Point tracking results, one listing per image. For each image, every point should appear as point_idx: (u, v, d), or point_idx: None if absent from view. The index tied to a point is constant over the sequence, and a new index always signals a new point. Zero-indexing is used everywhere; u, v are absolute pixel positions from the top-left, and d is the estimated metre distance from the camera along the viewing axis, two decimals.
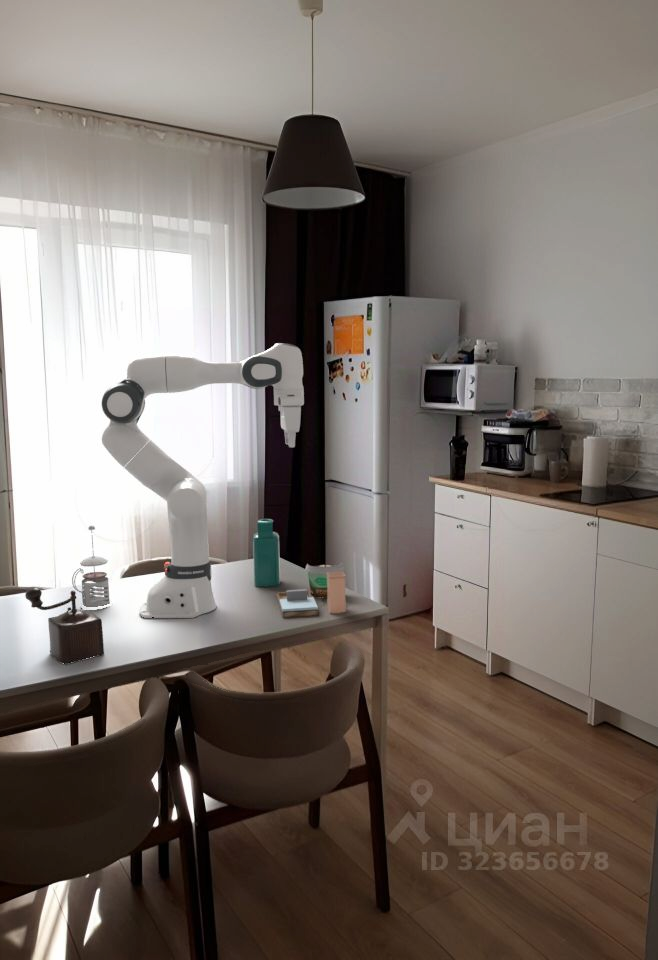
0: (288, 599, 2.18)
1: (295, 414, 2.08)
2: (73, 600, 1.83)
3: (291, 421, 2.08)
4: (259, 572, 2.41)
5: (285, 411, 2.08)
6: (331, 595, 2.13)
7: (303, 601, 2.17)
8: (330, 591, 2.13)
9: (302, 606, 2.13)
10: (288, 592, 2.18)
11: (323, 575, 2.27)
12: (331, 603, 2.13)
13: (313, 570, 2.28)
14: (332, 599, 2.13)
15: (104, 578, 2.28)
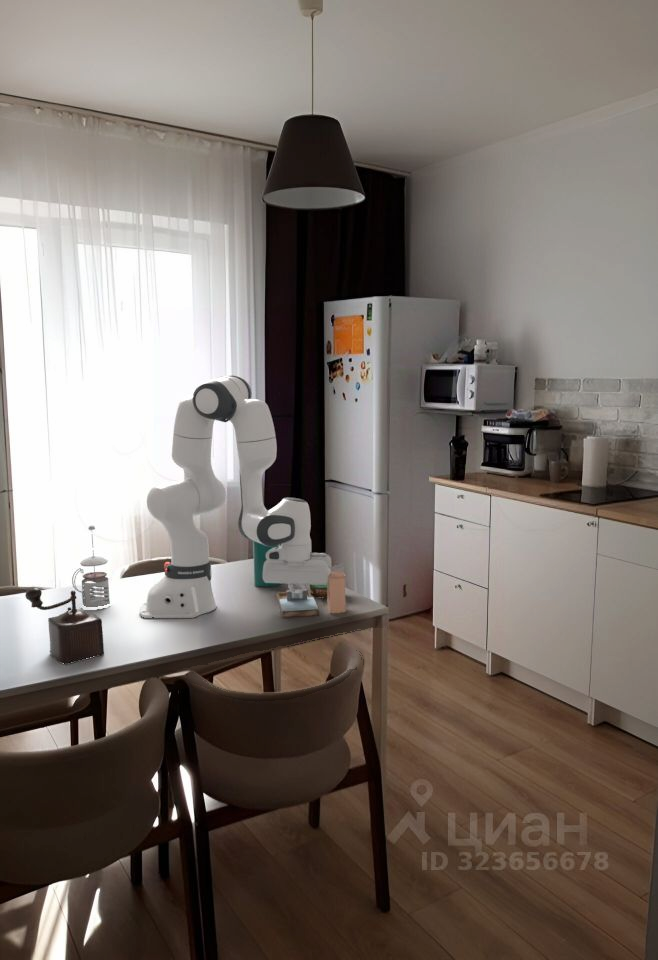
0: (288, 599, 2.18)
1: None
2: (73, 600, 1.83)
3: None
4: (259, 572, 2.41)
5: None
6: (331, 595, 2.13)
7: (303, 601, 2.17)
8: (330, 591, 2.13)
9: (302, 606, 2.13)
10: (288, 592, 2.18)
11: None
12: (331, 603, 2.13)
13: None
14: (332, 599, 2.13)
15: (104, 578, 2.28)
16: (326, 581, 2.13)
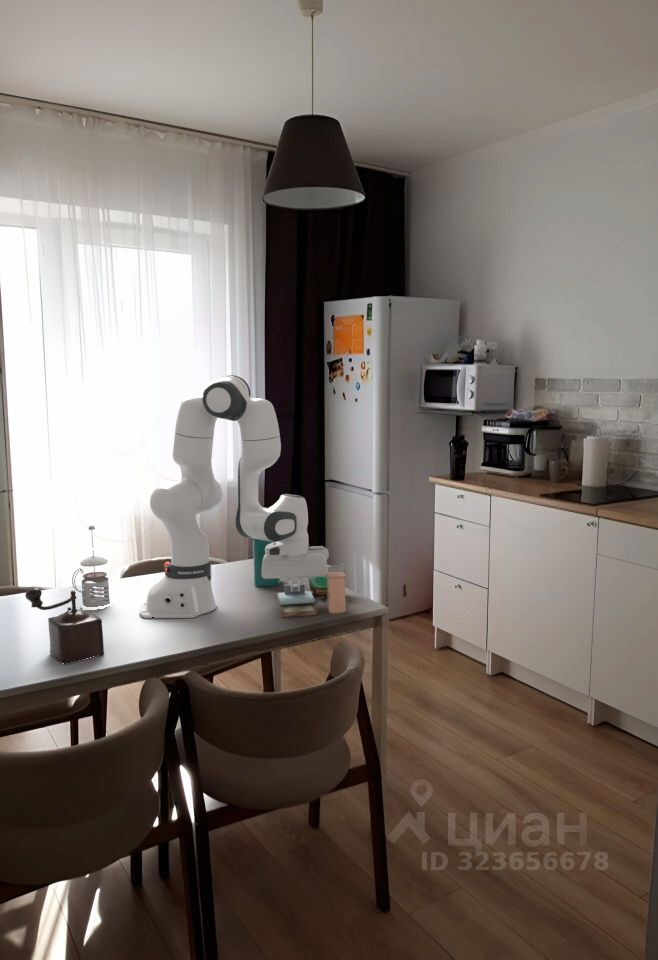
0: (286, 593, 2.25)
1: None
2: (73, 600, 1.83)
3: None
4: (259, 572, 2.41)
5: None
6: (331, 595, 2.13)
7: (300, 595, 2.24)
8: (330, 591, 2.13)
9: (299, 599, 2.19)
10: (286, 586, 2.25)
11: None
12: (331, 603, 2.13)
13: None
14: (332, 599, 2.13)
15: (104, 578, 2.28)
16: (325, 573, 2.22)
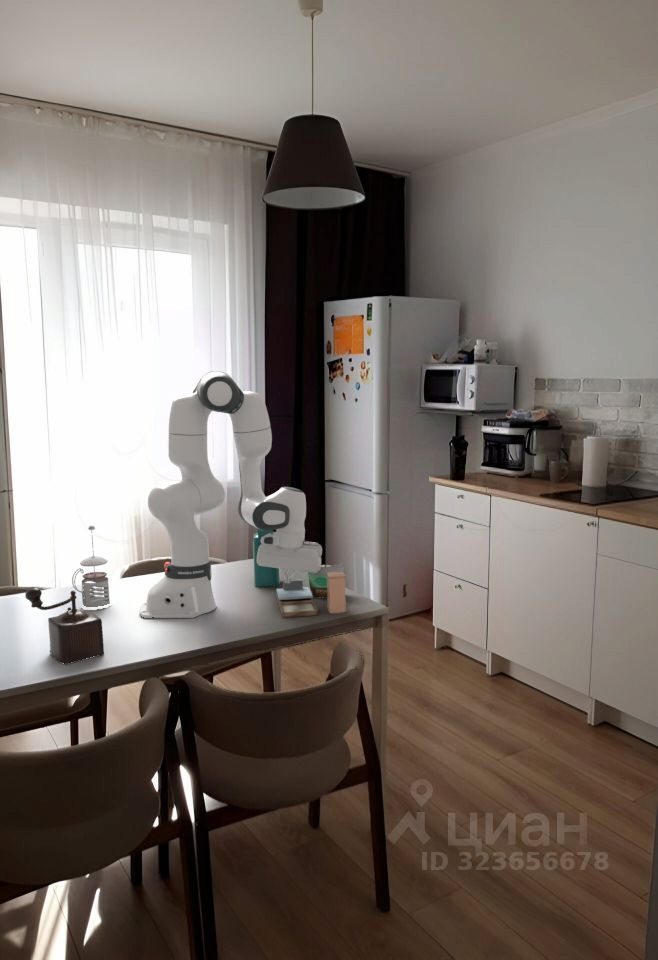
0: (285, 589, 2.29)
1: None
2: (73, 600, 1.83)
3: None
4: (259, 572, 2.41)
5: None
6: (331, 595, 2.13)
7: (298, 590, 2.28)
8: (330, 591, 2.13)
9: (298, 595, 2.24)
10: (284, 582, 2.29)
11: (323, 575, 2.27)
12: (331, 603, 2.13)
13: None
14: (332, 599, 2.13)
15: (104, 578, 2.28)
16: (315, 569, 2.23)
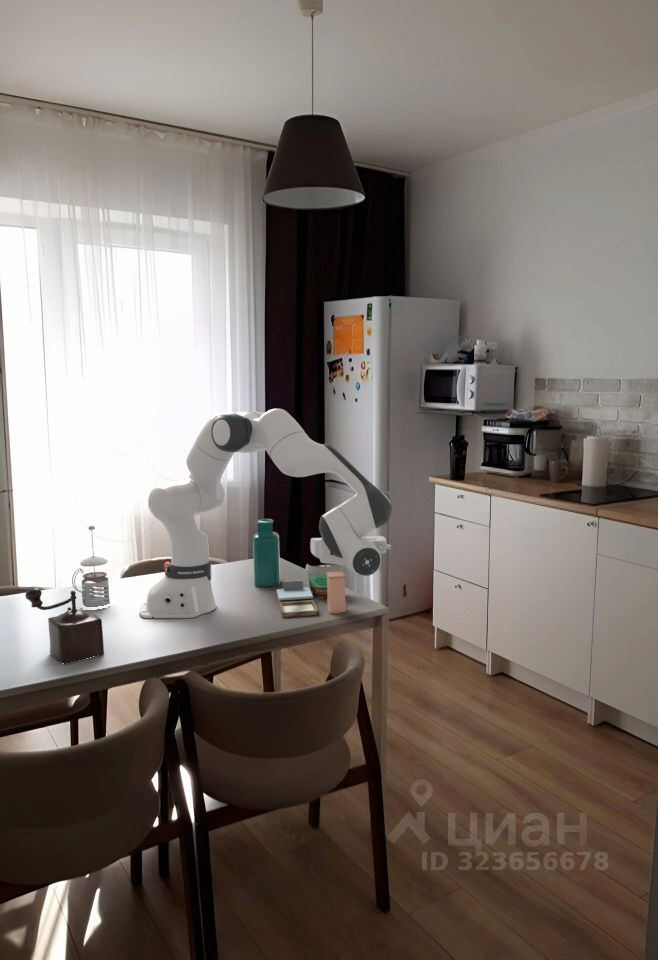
0: (285, 589, 2.29)
1: (314, 551, 1.91)
2: (73, 600, 1.83)
3: (312, 544, 1.93)
4: (259, 572, 2.41)
5: (316, 541, 1.90)
6: (331, 595, 2.13)
7: (299, 591, 2.28)
8: (330, 591, 2.13)
9: (298, 595, 2.23)
10: (285, 582, 2.29)
11: (323, 575, 2.27)
12: (331, 603, 2.13)
13: (313, 570, 2.28)
14: (332, 599, 2.13)
15: (104, 578, 2.28)
16: None
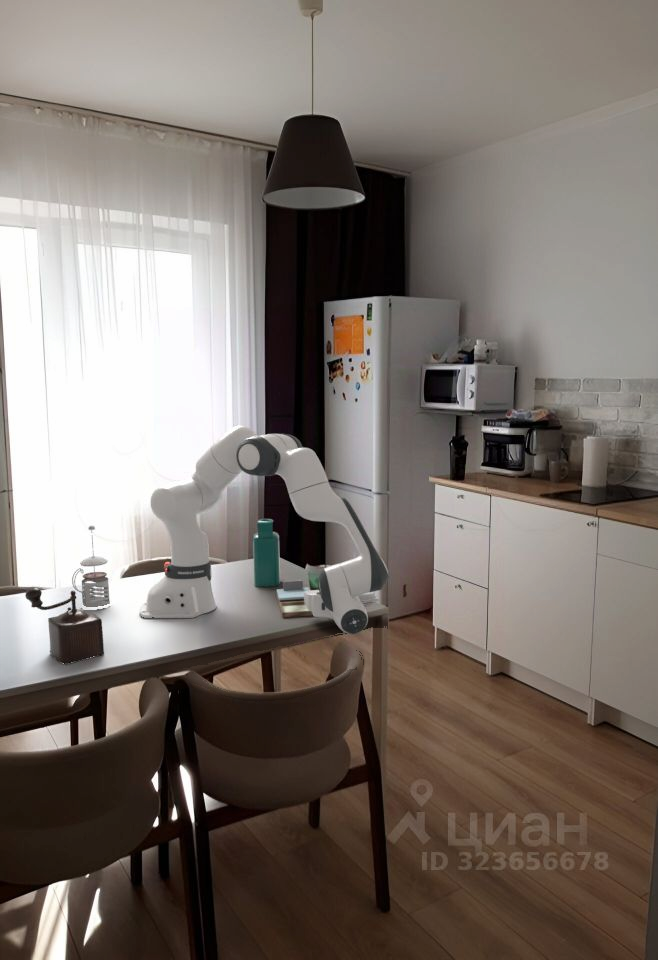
0: (285, 589, 2.29)
1: (307, 604, 2.05)
2: (73, 600, 1.83)
3: (305, 597, 2.07)
4: (259, 572, 2.41)
5: (308, 595, 2.04)
6: None
7: (299, 591, 2.28)
8: None
9: (298, 595, 2.23)
10: (285, 582, 2.29)
11: None
12: None
13: (313, 570, 2.28)
14: None
15: (104, 578, 2.28)
16: None
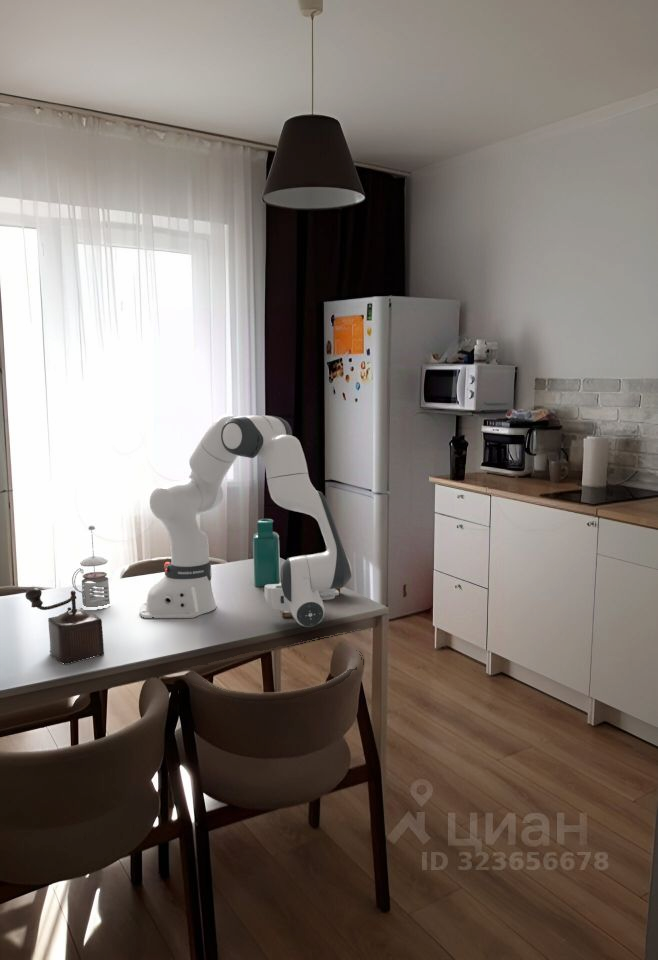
0: None
1: (267, 597, 2.05)
2: (73, 600, 1.83)
3: (265, 591, 2.07)
4: (259, 572, 2.41)
5: (268, 589, 2.04)
6: None
7: None
8: None
9: None
10: None
11: None
12: None
13: None
14: None
15: (104, 578, 2.28)
16: None
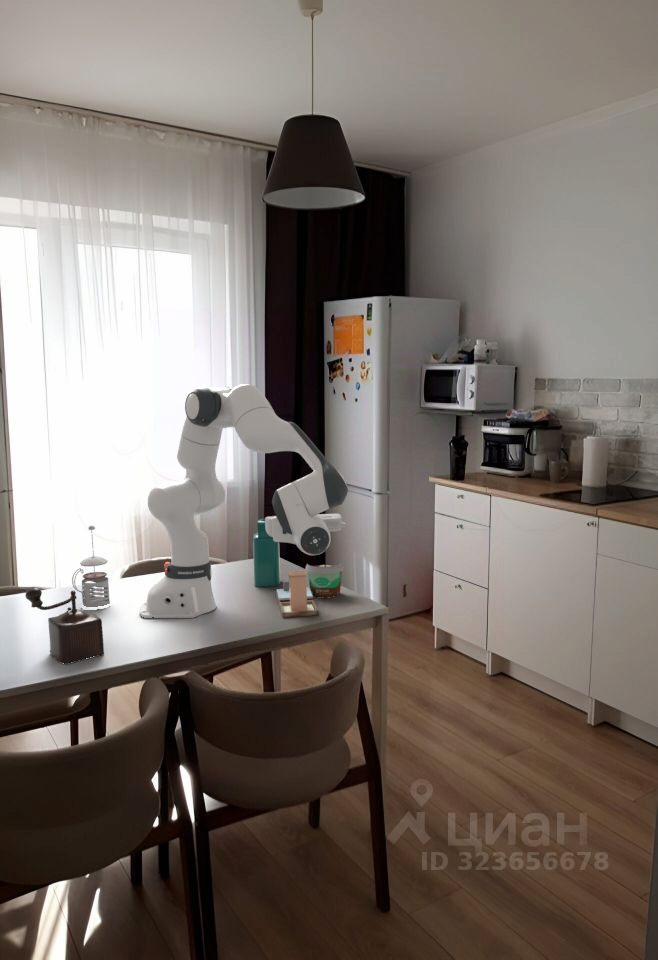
0: (285, 589, 2.29)
1: (268, 529, 1.90)
2: (73, 600, 1.83)
3: (266, 523, 1.91)
4: (259, 572, 2.41)
5: (269, 519, 1.88)
6: (292, 594, 2.13)
7: None
8: (291, 590, 2.13)
9: None
10: (285, 582, 2.29)
11: (323, 575, 2.27)
12: (292, 601, 2.13)
13: (313, 570, 2.28)
14: (293, 598, 2.13)
15: (104, 578, 2.28)
16: None
